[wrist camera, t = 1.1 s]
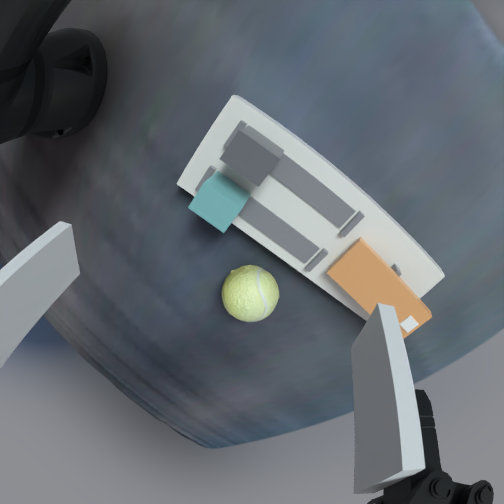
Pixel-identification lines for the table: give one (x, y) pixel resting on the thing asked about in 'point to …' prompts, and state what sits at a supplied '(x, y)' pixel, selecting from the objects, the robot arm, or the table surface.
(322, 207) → the panel
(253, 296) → the tennis ball
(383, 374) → the robot arm
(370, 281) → the tan block
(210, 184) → the teal slider
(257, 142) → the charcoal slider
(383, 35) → the table surface
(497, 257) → the table surface
